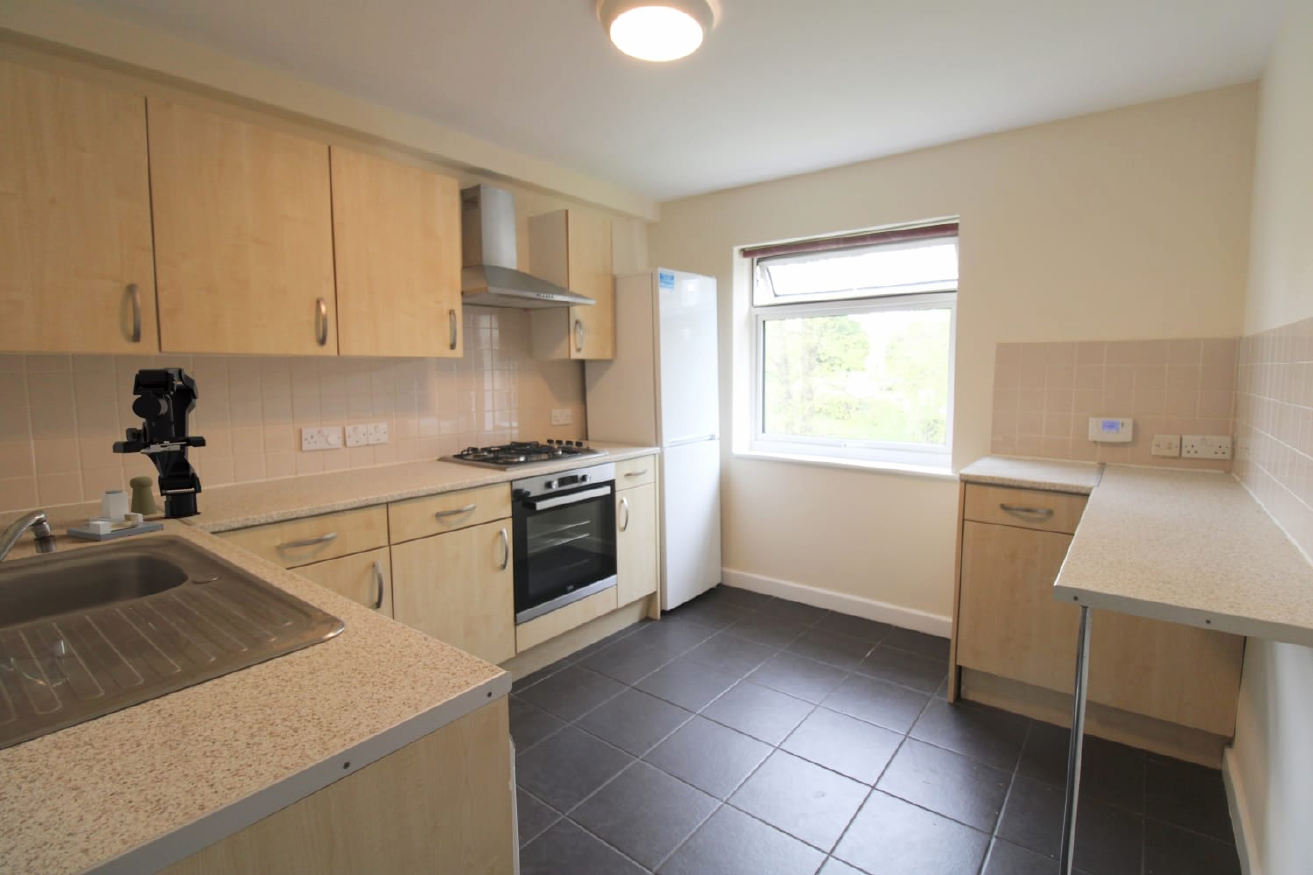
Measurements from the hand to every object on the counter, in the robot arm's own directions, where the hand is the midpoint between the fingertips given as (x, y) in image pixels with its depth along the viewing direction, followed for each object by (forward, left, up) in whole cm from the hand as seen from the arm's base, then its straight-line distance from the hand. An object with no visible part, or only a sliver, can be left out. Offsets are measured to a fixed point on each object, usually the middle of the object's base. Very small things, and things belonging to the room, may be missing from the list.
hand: (164, 477), depth 164 cm
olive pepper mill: (-7, -27, -13) cm, 31 cm away
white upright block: (+7, -10, -12) cm, 16 cm away
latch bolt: (+10, 0, -11) cm, 15 cm away
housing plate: (+9, -6, -13) cm, 17 cm away
